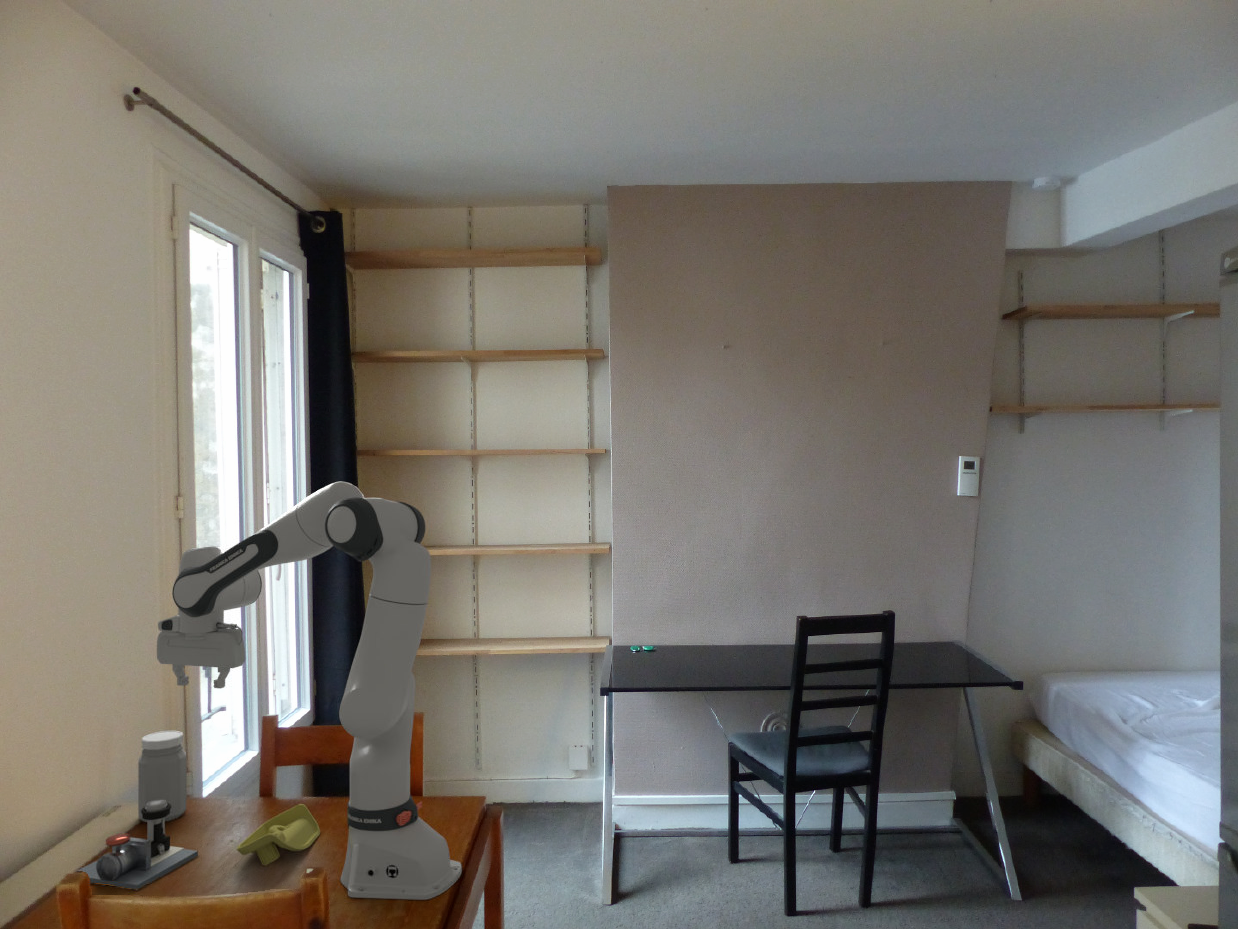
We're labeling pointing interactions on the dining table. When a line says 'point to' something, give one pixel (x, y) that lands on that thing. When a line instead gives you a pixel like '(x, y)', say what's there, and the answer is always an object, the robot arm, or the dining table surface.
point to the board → (140, 878)
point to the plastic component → (282, 834)
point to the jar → (162, 772)
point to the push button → (157, 825)
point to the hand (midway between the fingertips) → (201, 686)
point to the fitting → (124, 856)
